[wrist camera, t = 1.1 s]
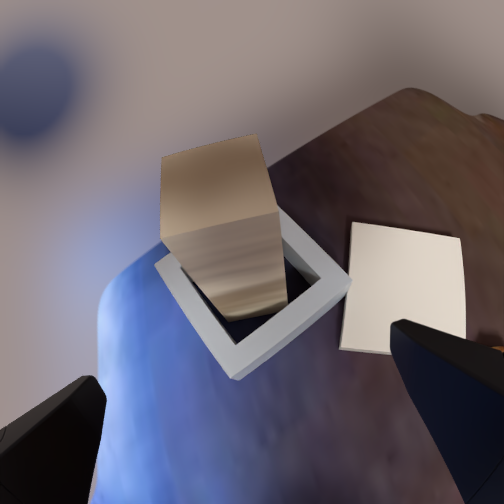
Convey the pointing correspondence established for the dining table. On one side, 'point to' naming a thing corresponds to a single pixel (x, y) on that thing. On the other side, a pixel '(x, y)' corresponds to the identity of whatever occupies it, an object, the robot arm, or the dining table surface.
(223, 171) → the peg
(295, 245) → the holder
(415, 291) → the tile
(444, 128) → the dining table surface
